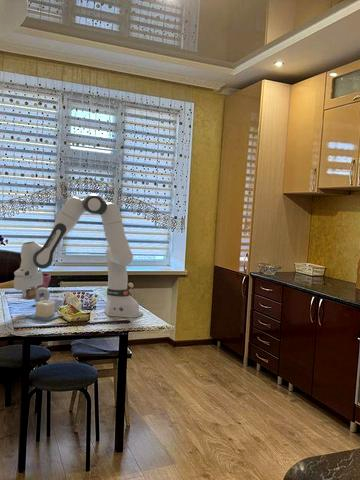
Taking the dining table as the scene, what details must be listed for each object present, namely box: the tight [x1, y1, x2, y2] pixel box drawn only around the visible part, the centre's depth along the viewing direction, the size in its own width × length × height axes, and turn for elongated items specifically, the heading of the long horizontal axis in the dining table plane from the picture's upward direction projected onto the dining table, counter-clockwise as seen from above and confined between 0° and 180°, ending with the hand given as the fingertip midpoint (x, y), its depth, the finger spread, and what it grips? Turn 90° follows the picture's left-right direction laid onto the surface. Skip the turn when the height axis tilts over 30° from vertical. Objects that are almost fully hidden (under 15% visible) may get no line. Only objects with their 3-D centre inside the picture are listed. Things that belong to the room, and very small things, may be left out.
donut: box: [33, 288, 51, 303], centre depth 269 cm, size 10×3×10 cm, turn 128°
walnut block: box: [22, 288, 36, 301], centre depth 247 cm, size 5×5×5 cm
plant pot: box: [30, 272, 52, 296], centre depth 298 cm, size 14×14×13 cm
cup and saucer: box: [25, 300, 61, 323], centre depth 239 cm, size 14×14×8 cm
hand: (29, 295), depth 247 cm, fingers closed on walnut block, 5 cm apart
